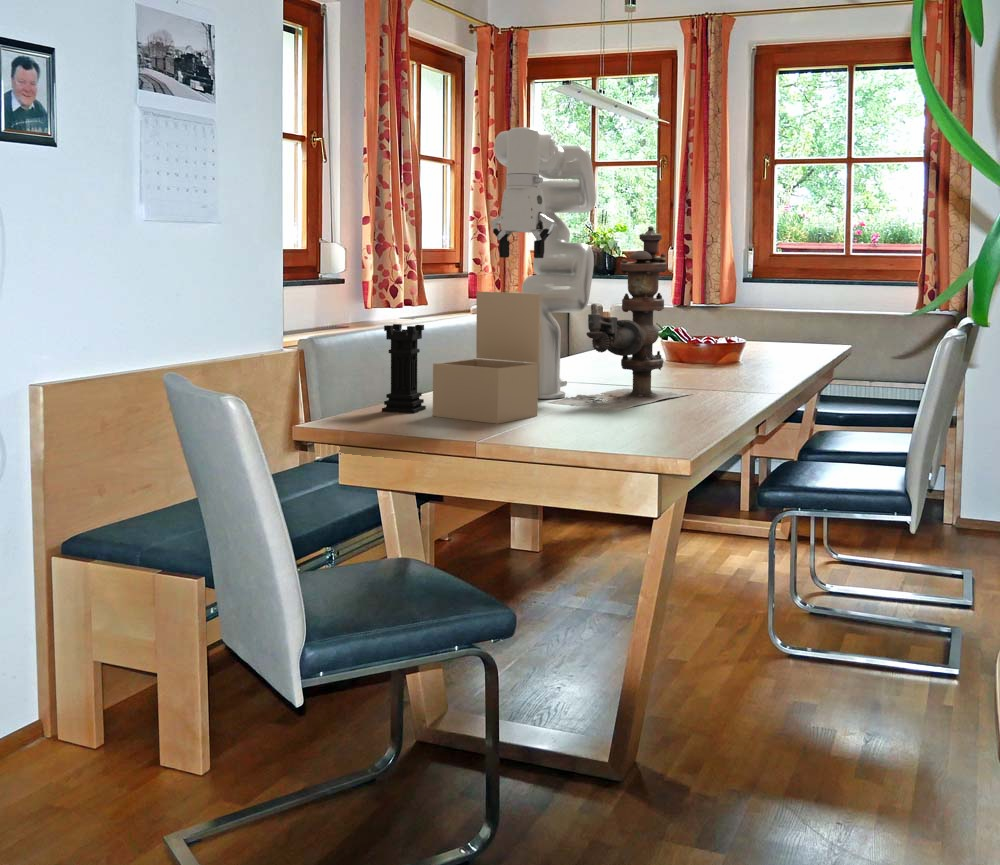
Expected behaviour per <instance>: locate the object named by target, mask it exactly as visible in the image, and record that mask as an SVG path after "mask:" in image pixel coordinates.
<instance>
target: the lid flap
mask: <svg viewBox="0 0 1000 865" xmlns="http://www.w3.org/2000/svg"><path fill="white" fill-rule="evenodd" d="M540 312H541V294H532V293H522V291H521V292H520V291H519V292H518V291H513V292H504V291H503V292H502V291H501V292H498V291H480V290H479V291H478V290H477V291H476V337H475V338H476V341H475V342H476V344H475V347H476V348H475V349H476V350H475V351H476V352H475V353H476V357H475V359H483V360H495V361H508V362H520V363H524V362H533V363H540Z"/></svg>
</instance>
